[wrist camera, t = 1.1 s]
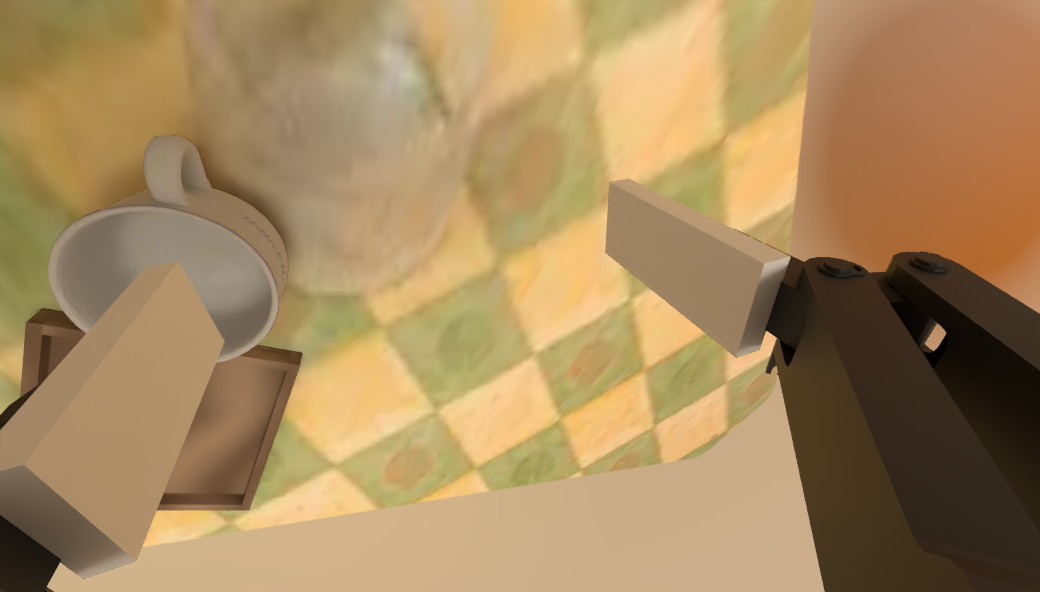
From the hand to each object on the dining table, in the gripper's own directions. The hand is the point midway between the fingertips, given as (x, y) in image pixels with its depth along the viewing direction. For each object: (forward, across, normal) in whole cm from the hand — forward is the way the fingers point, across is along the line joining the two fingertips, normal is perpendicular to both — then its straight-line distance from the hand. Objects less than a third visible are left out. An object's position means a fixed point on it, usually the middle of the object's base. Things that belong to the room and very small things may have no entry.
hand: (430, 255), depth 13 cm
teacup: (+22, -13, -5) cm, 26 cm away
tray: (+22, -23, -21) cm, 38 cm away
